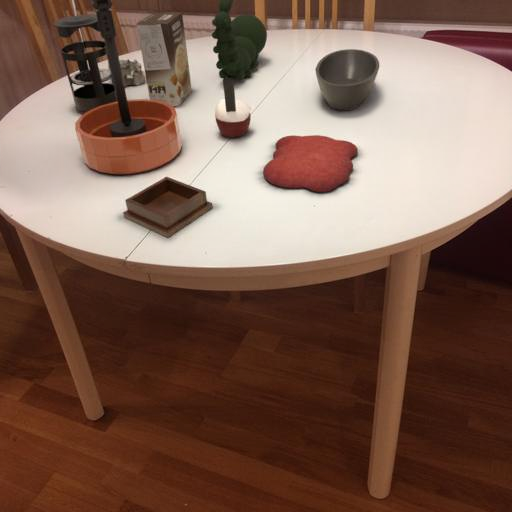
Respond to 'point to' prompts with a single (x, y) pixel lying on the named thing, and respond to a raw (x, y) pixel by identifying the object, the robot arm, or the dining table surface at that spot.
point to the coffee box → (165, 57)
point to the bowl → (346, 77)
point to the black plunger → (121, 98)
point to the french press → (86, 64)
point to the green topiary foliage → (237, 42)
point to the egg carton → (131, 72)
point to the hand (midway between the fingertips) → (108, 35)
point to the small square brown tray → (167, 206)
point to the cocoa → (232, 112)
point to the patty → (310, 162)
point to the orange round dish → (129, 137)
